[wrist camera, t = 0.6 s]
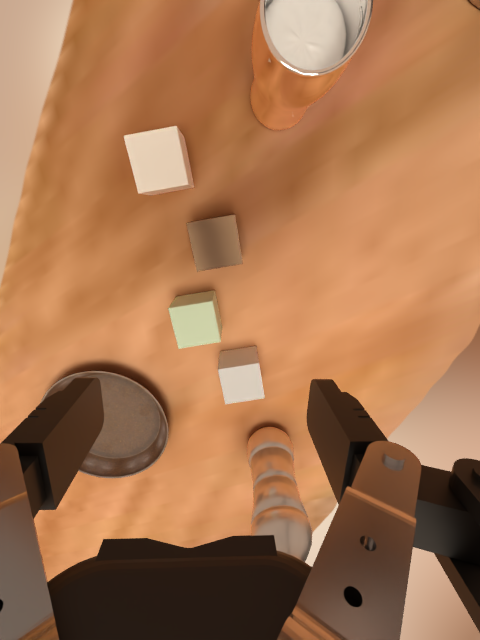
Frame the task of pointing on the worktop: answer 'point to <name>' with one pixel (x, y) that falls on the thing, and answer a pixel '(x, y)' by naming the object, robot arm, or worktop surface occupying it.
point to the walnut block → (215, 242)
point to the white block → (159, 161)
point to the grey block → (240, 375)
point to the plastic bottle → (277, 493)
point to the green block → (196, 319)
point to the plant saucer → (123, 427)
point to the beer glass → (301, 53)
